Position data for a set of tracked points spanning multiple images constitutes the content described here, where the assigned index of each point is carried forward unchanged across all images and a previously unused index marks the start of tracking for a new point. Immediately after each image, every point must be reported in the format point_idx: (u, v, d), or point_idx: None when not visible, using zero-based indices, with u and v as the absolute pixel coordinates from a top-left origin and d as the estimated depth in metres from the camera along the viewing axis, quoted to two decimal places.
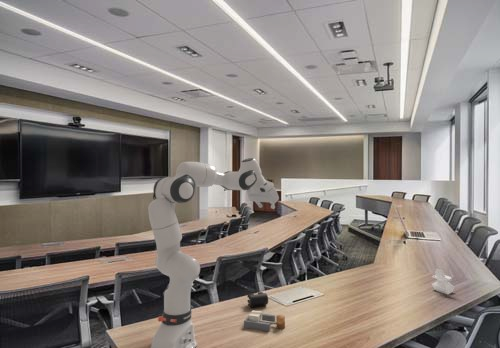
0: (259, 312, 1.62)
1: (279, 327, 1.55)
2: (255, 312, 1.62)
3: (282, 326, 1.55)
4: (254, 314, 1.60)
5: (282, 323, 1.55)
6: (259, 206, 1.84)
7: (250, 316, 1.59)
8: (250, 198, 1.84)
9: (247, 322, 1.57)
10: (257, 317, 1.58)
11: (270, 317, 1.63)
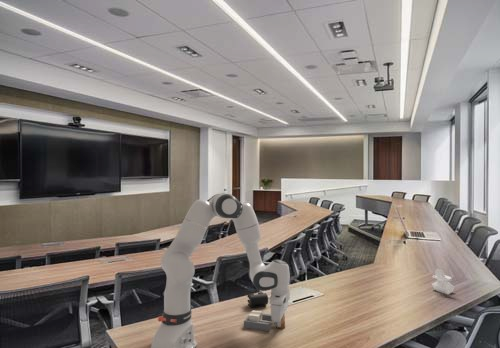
0: (259, 312, 1.62)
1: (279, 327, 1.55)
2: (255, 312, 1.62)
3: (282, 326, 1.55)
4: (254, 314, 1.60)
5: (282, 323, 1.55)
6: None
7: (250, 316, 1.59)
8: None
9: (247, 322, 1.57)
10: (257, 317, 1.58)
11: (270, 317, 1.63)
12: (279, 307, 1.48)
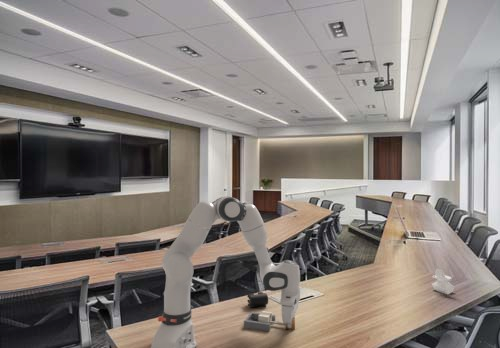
0: (269, 313, 1.61)
1: (289, 328, 1.54)
2: (265, 313, 1.61)
3: (292, 327, 1.54)
4: (264, 315, 1.59)
5: (292, 324, 1.54)
6: None
7: (260, 317, 1.58)
8: None
9: (247, 322, 1.57)
10: (267, 318, 1.57)
11: None
12: (290, 308, 1.47)
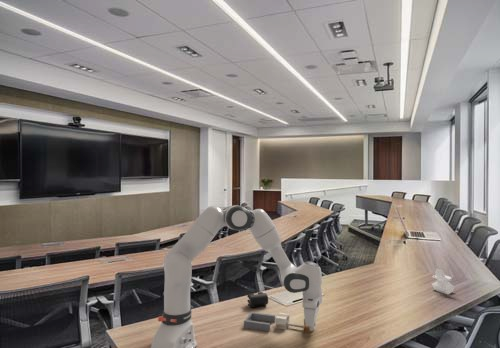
0: (286, 315, 1.59)
1: (307, 331, 1.51)
2: (282, 314, 1.59)
3: None
4: (281, 316, 1.57)
5: None
6: None
7: (277, 318, 1.56)
8: None
9: (247, 322, 1.57)
10: (284, 320, 1.55)
11: (270, 317, 1.63)
12: (313, 311, 1.44)
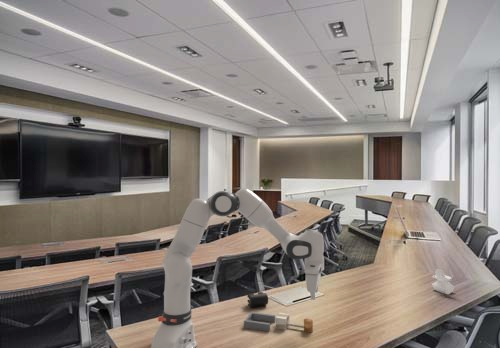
0: (286, 315, 1.59)
1: (307, 331, 1.51)
2: (282, 314, 1.59)
3: (310, 330, 1.51)
4: (281, 316, 1.57)
5: (310, 327, 1.51)
6: None
7: (277, 318, 1.56)
8: None
9: (247, 322, 1.57)
10: (284, 320, 1.55)
11: (270, 317, 1.63)
12: (315, 276, 1.43)
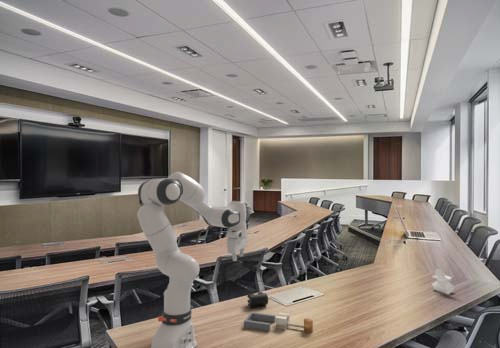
0: (286, 315, 1.59)
1: (307, 331, 1.51)
2: (282, 314, 1.59)
3: (310, 330, 1.51)
4: (281, 316, 1.57)
5: (310, 327, 1.51)
6: None
7: (277, 318, 1.56)
8: None
9: (247, 322, 1.57)
10: (284, 320, 1.55)
11: (270, 317, 1.63)
12: (234, 240, 1.63)
